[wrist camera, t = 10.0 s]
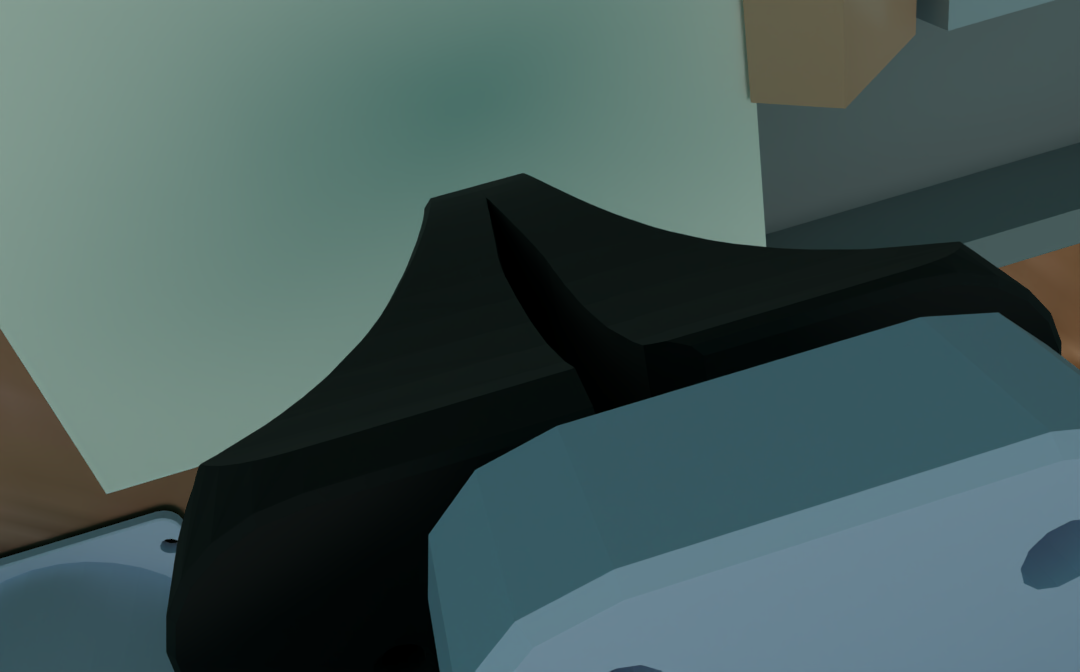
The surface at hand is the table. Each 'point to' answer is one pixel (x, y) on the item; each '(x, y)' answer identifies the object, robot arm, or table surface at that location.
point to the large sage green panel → (314, 180)
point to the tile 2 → (967, 11)
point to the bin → (940, 146)
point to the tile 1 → (821, 47)
